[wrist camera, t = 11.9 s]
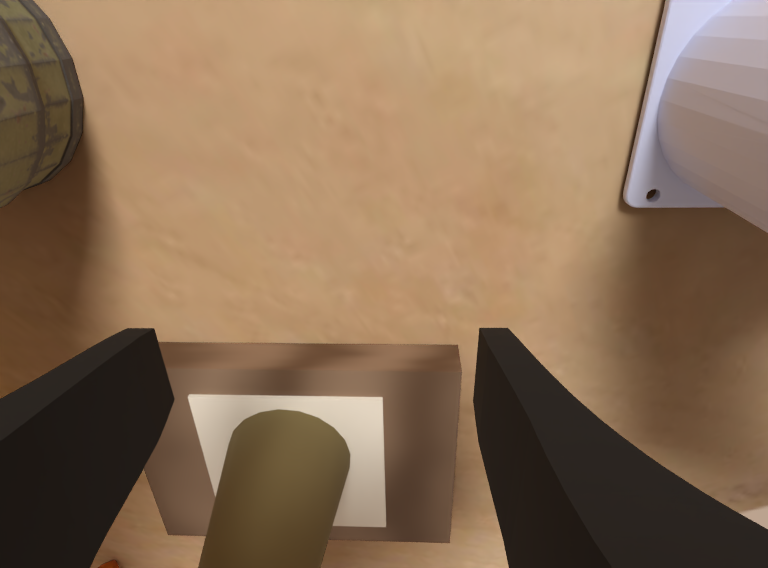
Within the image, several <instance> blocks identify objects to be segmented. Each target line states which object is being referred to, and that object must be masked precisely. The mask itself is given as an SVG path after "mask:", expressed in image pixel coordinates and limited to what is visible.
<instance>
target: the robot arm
mask: <svg viewBox="0 0 768 568" xmlns="http://www.w3.org/2000/svg"><path fill="white" fill-rule="evenodd" d="M653 189H656V193H655V195H654V196H653V197H652V198H650V199H646V195H647V193H648V192H649V191H650V190H653ZM623 199H624V201H625V202H626V203H627V204H628V205H630V206H631V207H635V208H702V207H725V208H727V209H729V210H730V211H732V212H734V213H735V214H737V215H739V216H740V217H742V218H744V219H745V220H747V221H749V222H750V223H752V224H754V225H755V226H757V227H758V228H760V229H762V230H763V231H765V232H767V233H768V0H666V1H665V6H664V10H663V15H662V19H661V24H660V29H659V33H658V38H657V42H656V47H655V51H654V56H653V60H652V65H651V69H650V74H649V78H648V83H647V87H646V92H645V96H644V101H643V105H642V110H641V114H640V119H639V123H638V128H637V133H636V137H635V142H634V146H633V151H632V155H631V160H630V164H629V169H628V173H627V178H626V182H625V187H624V191H623ZM174 400H175V398H174V395H173V392H172V388H171V385H170V381H169V378H168V374H167V371H166V367H165V364H164V361H163V357H162V354H161V350H160V347H159V343H158V340H157V337H156V333H155V330H154V328H127V329H125V330H123V331H121V332H119V333H117V334H115V335H113V336H111V337H109V338H107V339H105V340H103V341H102V342H100V343H98V344H96V345H94V346H93V347H91V348H89V349H87V350H86V351H84V352H82V353H81V354H79V355H77V356H75V357H74V358H72V359H70V360H69V361H67V362H65V363H63V364H62V365H60V366H58V367H56V368H55V369H53V370H51V371H50V372H48V373H46V374H44V375H43V376H41V377H39V378H37V379H36V380H34V381H32V382H30V383H29V384H27V385H25V386H23V387H21V388H19V389H18V390H16V391H14V392H12V393H10V394H8V395H6V396H5V397H3V398H1V399H0V568H90V567H91V564H92V562H93V560H94V558H95V556H96V554H97V552H98V550H99V548H100V546H101V544H102V542H103V540H104V538H105V536H106V534H107V532H108V531H109V529H110V527H111V525H112V524H113V522H114V520H115V518H116V516H117V515H118V513H119V511H120V509H121V508H122V506H123V504H124V502H125V501H126V499H127V497H128V495H129V493H130V492H131V490H132V488H133V486H134V485H135V483H136V481H137V479H138V478H139V476H140V474H141V472H142V470H143V469H144V467H145V465H146V463H147V461H148V459H149V458H150V456H151V454H152V452H153V450H154V449H155V447H156V445H157V443H158V441H159V439H160V437H161V434H162V432H163V429H164V427H165V424H166V422H167V419H168V416H169V414H170V411H171V408H172V406H173V403H174ZM473 403H474V411H475V419H476V427H477V434H478V442H479V446H480V450H481V454H482V458H483V462H484V466H485V470H486V474H487V478H488V482H489V486H490V490H491V494H492V498H493V502H494V505H495V509H496V513H497V517H498V521H499V525H500V529H501V533H502V537H503V541H504V546H505V550H506V555H507V560H508V565H509V568H768V529H766V528H764V527H762V526H760V525H759V524H757V523H755V522H753V521H752V520H750V519H748V518H746V517H744V516H743V515H741V514H739V513H737V512H736V511H734V510H732V509H730V508H729V507H727V506H725V505H724V504H722V503H720V502H719V501H717V500H715V499H714V498H712V497H710V496H708V495H707V494H705V493H704V492H702V491H700V490H699V489H697V488H696V487H694V486H693V485H691V484H689V483H688V482H686V481H685V480H683V479H682V478H680V477H679V476H677V475H676V474H674V473H672V472H671V471H669V470H668V469H666V468H665V467H663V466H662V465H660V464H659V463H658V462H656V461H655V460H653V459H652V458H650V457H649V456H647V455H646V454H645V453H643V452H642V451H641V450H639V449H638V448H637V447H635V446H634V445H633V444H631V443H630V442H629V441H627V440H626V439H625V438H623V437H622V436H621V435H619V434H618V433H617V432H615V431H614V430H613V429H612V428H610V427H609V426H608V425H607V424H605V423H604V422H603V421H602V420H600V419H599V418H598V417H597V416H596V415H595V414H594V413H592V412H591V411H590V410H589V409H588V408H587V407H586V406H584V405H583V404H582V403H581V402H580V401H579V400H578V399H576V398H575V397H574V396H573V395H572V394H571V393H570V392H569V391H568V390H567V389H566V388H565V387H564V386H563V385H562V384H561V383H560V382H559V381H558V380H557V379H556V378H555V377H554V376H553V375H552V374H551V373H550V372H549V371H548V370H547V369H546V368H545V367H544V366H543V365H542V364H541V363H540V362H539V361H538V360H537V359H536V358H535V357H534V356H533V354H532V353H531V352H530V351H529V350H528V349H527V348H526V347H525V346H524V345H523V344H522V343H521V341H520V340H519V339H518V338H517V337H516V336H515V335H514V334H513V333H512V332H511V331H510V330H509V329H508V328H479V340H478V351H477V363H476V374H475V386H474V397H473Z"/></svg>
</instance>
